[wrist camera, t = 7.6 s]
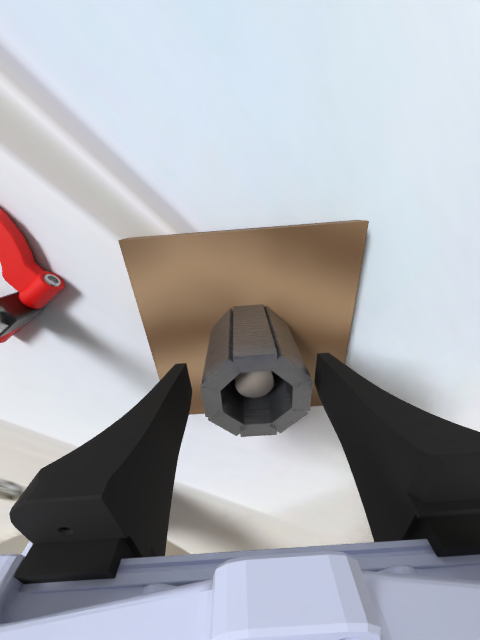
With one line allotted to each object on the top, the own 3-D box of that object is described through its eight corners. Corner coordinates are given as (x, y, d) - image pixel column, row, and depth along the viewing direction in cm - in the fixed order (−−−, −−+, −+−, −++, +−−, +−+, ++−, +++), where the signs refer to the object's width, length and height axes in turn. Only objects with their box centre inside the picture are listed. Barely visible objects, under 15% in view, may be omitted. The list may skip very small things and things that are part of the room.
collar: (286, 366, 17) (307, 432, 12) (217, 371, 17) (209, 438, 12) (288, 302, 15) (315, 350, 10) (208, 308, 15) (194, 359, 10)
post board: (331, 393, 20) (365, 458, 15) (173, 404, 20) (152, 472, 15) (358, 220, 14) (433, 227, 8) (127, 237, 14) (63, 255, 9)
